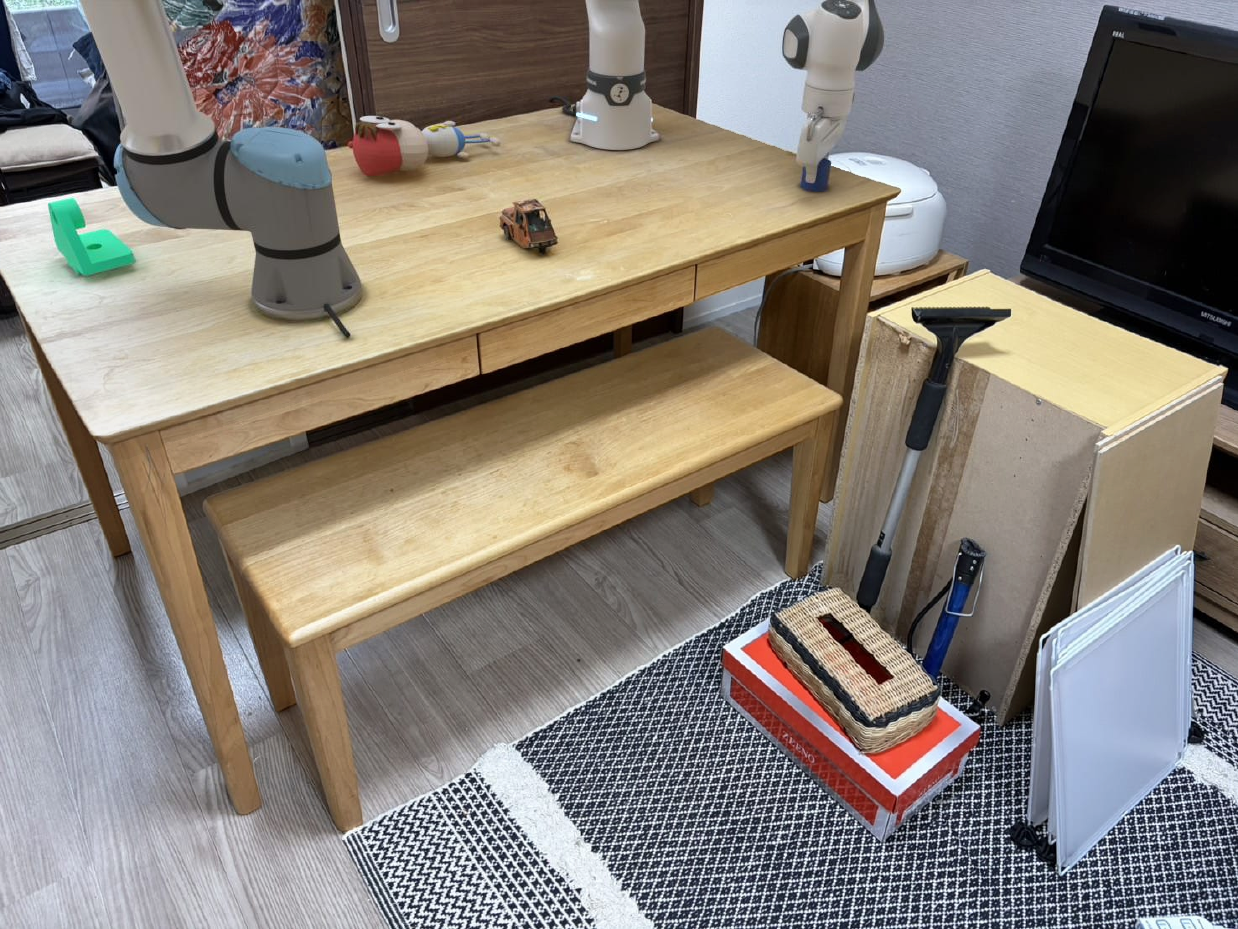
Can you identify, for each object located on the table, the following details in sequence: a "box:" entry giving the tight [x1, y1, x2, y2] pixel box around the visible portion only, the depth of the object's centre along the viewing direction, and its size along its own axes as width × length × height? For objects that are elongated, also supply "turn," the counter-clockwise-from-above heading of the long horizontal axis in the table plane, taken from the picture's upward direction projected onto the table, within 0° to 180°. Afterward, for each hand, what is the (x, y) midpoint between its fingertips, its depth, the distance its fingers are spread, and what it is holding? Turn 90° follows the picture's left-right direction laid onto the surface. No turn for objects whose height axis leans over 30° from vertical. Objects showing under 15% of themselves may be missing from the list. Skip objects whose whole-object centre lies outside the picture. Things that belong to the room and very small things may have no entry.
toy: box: [347, 115, 502, 177], centre depth 180 cm, size 18×10×30 cm
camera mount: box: [47, 197, 136, 277], centre depth 139 cm, size 12×8×10 cm, turn 42°
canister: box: [800, 158, 832, 193], centre depth 175 cm, size 5×5×5 cm
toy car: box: [499, 198, 559, 255], centre depth 150 cm, size 6×12×7 cm, turn 39°
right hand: (815, 176), depth 176 cm, fingers closed on canister, 5 cm apart
